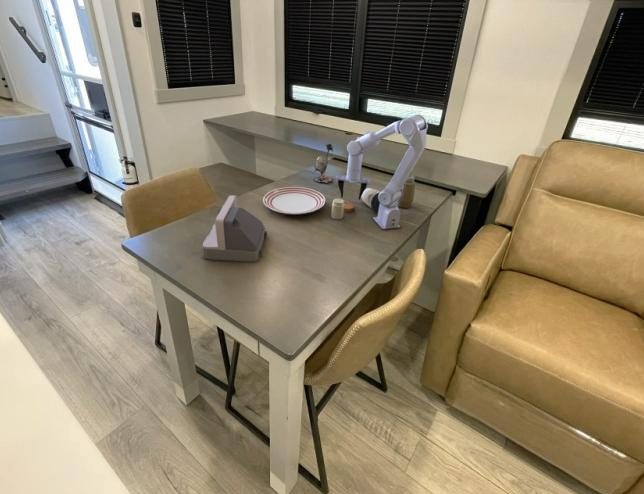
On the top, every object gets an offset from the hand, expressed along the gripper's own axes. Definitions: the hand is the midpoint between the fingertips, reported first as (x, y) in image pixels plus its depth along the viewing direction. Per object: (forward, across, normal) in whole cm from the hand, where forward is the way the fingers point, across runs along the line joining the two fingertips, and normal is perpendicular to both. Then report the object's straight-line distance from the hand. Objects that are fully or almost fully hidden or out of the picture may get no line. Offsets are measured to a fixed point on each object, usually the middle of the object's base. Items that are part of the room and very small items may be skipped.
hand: (350, 197), depth 145 cm
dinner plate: (+5, -24, -3) cm, 25 cm away
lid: (+4, -1, -1) cm, 4 cm away
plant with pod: (+5, -16, +29) cm, 34 cm away
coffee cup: (+2, +8, +9) cm, 12 cm away
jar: (+5, -5, -9) cm, 12 cm away
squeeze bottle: (+5, +25, +10) cm, 27 cm away
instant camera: (+5, -38, -39) cm, 55 cm away
